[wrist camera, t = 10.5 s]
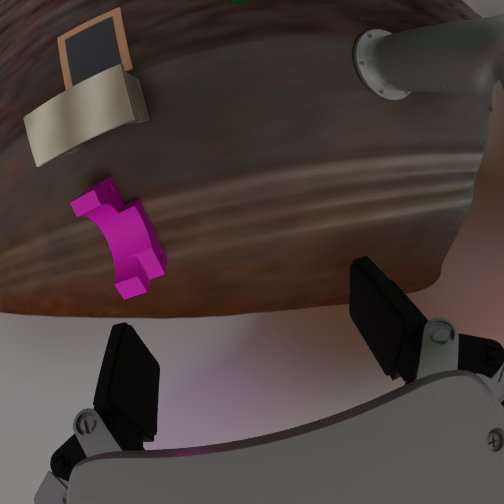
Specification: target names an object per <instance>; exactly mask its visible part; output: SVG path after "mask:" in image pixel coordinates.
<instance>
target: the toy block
mask: <svg viewBox="0 0 504 504" xmlns="http://www.w3.org/2000/svg"><path fill="white" fill-rule="evenodd" d="M70 203H71V205H72V207H73V210H74V212H75V214H76V216H77V217H78V216H87V217H89V218H91V219H92V220H93V221H94V222H95V223H96V224H97V225H98V226H99V227H100V229H101V230H102V232H103V233H104V235H105V237H106V239H107V241H108V243H109V246H110V249H111V252H112V255H113V259H114V264H115V272H116V277H115V286H116V288H117V289H118V291H119V292H120V294H121V295H122V297H123V298H124V299H127V298H130V297H133V296H136V295H139V294H142V293H145V292H147V289H148V285H149V280H150V279H152V278H155V277H158V276H161V275H164V274H165V271H166V265H167V257H166V255H165V253H164V251H163V249H162V247H161V245H160V243H159V241H158V239H157V236H156V234H155V232H154V230H153V228H152V226H151V224H150V221H149V219H148V217H147V215H146V213H145V210H144V208H143V206H142V203H141V201H140V199H137V200H135V201H133V202H131V203H128V204H126V205H124V203H123V201H122V199H121V197H120V194H119V192H118V190H117V187H116V185H115V183H114V180H113V178H112V176H111V177H109V178H107V179H105V180H103V181H101V182H99V183H97V184H95V185H93V186H91V187H90V188H88V189H87V190H86V191H84V192H83V193H82V194H80V195H79V196H78V197H77V198H75V199H74V200H73V201H72V202H70Z"/></svg>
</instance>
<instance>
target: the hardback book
mask: <svg viewBox="0 0 504 504" xmlns="http://www.w3.org/2000/svg"><path fill="white" fill-rule="evenodd" d="M230 1H231V4H236V3H241V2H246V1H251V0H230Z"/></svg>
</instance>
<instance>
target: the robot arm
mask: <svg viewBox="0 0 504 504" xmlns="http://www.w3.org/2000/svg"><path fill="white" fill-rule="evenodd" d="M354 63H355V67H356V69H357V72H358V74H359V76H360V78H361V80H362V81H363V83H364V84H365V85H366V86H367V87H368V88H369V90H370V91H372V92H373V93H374V94H375V95H377V96H379V97H381V98H384V99H387V100H400V99H403V98H405V97H407V96H408V95H409V94H410V93H411V91H414V92H434V93H447V94H456V95H466V96H481V95H484V94H486V93H487V92H489V91H490V90H491V89H492V88H493V87H494V86H495V84H496V83H497V81H498V80H500V82H501V84H502V86H503V89H504V14H500V15H495V16H491V17H485V18H480V19H475V20H467V21H460V22H453V23H445V24H439V25H432V26H426V27H421V28H416V29H411V30H406V31H402V32H398V33H394V34H392V33H390V32H388V31H385V30H381V29H374V30H369V31H367V32H364V33H363V34H362V35H360V36H359V38H358V39H357V41H356V43H355V46H354ZM349 312H350V316H351V318H352V320H353V321H354V323H355V324H356V327H357V328H358V330H359V331H360V333H361V334H362V336H363V338H364V340H365V341H366V343H367V345H368V346H369V348H370V350H371V351H372V353H373V354H374V356H375V358H376V360H377V361H378V363H379V365H380V366H381V368H382V370H383V372H384V373H385V374H386V375H387V376H388V375H390V376H391V378H392V380H395V379H397V378H399V377H402V379H403V380H404V381H405V385H404V386H402V387H400V388H397V389H395V390H393V391H391V392H389V393H387V394H384V395H382V396H380V397H378V398H375V399H373V400H371V401H368V402H366V403H363V404H361V405H358V406H356V407H353V408H351V409H348V410H346V411H343V412H340V413H338V414H335V415H332V416H330V417H327V418H324V419H321V420H317V421H315V422H311V423H308V424H305V425H301V426H298V427H294V428H291V429H287V430H284V431H280V432H276V433H272V434H267V435H263V436H259V437H254V438H249V439H244V440H239V441H233V442H227V443H221V444H214V445H207V446H199V447H189V448H179V449H163V450H145V449H144V447H143V442H153V441H154V435H156V434H157V412H158V392H159V391H158V390H159V377H160V367H159V364H158V362H157V361H156V359H155V358H154V357H153V355H152V354H151V353H150V351H149V350H148V348H147V347H146V346H145V344H144V343H143V341H142V340H141V339H140V337H139V336H138V334H137V333H136V331H135V330H134V328H133V327H132V326H131V325H128V324H127V323H120V324H115V325H113V327H112V330H111V333H110V336H109V340H108V343H107V347H106V351H105V355H104V358H103V362H102V366H101V370H100V374H99V379H98V383H97V387H96V392H95V397H94V402H93V405H94V409H90V408H87V409H83V410H82V411H80V412H79V413H78V414H77V416H76V417H75V419H74V423H73V429H74V432H75V434H74V435H73V436H71V437H70V438H69V439H68V440H67V441H66V442H65V443H64V444H63V445H62V446H61V447H60V448H59V449H57V450H56V451H55V452H54V454H53V455H52V457H51V462H50V465H51V469H52V472H50V471H48V473H47V475H46V477H45V478H44V480H43V482H42V484H41V485H40V487H39V489H38V491H37V493H36V495H35V498H34V503H35V504H504V349H503V347H502V346H501V344H500V343H498V342H497V341H495V340H492V339H486V338H480V337H475V336H470V335H465V334H459V333H458V329H457V327H456V326H455V324H454V323H453V322H452V321H450V320H448V319H445V318H434V319H431V320H430V321H428V320H427V319H426V317H425V316H424V315H423V314H422V313H421V312H420V310H419V309H418V308H417V307H416V306H415V305H414V303H413V302H412V301H411V300H410V299H409V298H408V297H407V295H406V294H405V293H404V292H403V291H402V290H401V289H400V288H399V287H398V285H397V284H396V283H395V282H394V281H392V280H389V279H388V278H387V277H386V276H385V274H384V273H383V272H382V271H381V270H380V269H379V268H378V267H377V266H376V265H375V264H374V263H373V262H372V261H371V260H370V259H369V257H367V256H364V257H361V258H358V259H355V260H353V264H351V265H350V304H349Z"/></svg>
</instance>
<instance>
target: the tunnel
mask: <svg viewBox="0 0 504 504" xmlns="http://www.w3.org/2000/svg"><path fill="white" fill-rule="evenodd" d="M149 120H150V118H149V114H148V111H147V107H146V103H145V99H144V96H143V92H142V88H141V84H140V80H138V79H137V78H135V77H134V76H132V75H130V74H129V73H127V72H125V68H124V66H123V65H122V64H119V65H116V66H114V67H112V68H109V69H107V70H105V71H103V72H101V73H98V74H96V75H94V76H92V77H90V78H88V79H86V80H84V81H82V82H80V83H79V84H77V85H75V86H73V87H71V88H69V89H68V90H66V91H64V92H62V93H61V94H59V95H57V96H56V97H54V98H52V99H51V100H49V101H48V102H46V103H44V104H43V105H41V106H40V107H38V108H37V109H35V110H34V111H32V112H31V113H30V114H28V115H27V116H25V117H24V122H25V126H26V131H27V134H28V138H29V142H30V146H31V149H32V153H33V156H34V159H35V162H36V166H37V167H39V166H41V165H43V164H45V163H47V162H50V161H52V160H55V159H57V158H60V157H62V156H65V155H68V154H70V153H73V152H76V151H79V150H81V149H83V148H85V144H84V142H86V141H88V140H90V139H92V138H94V137H96V136H98V135H100V134H103V133H105V132H107V131H109V130H112V129H114V128H116V127H119V126H121V125H123V124H133V123H144V122H146V121H149Z"/></svg>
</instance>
